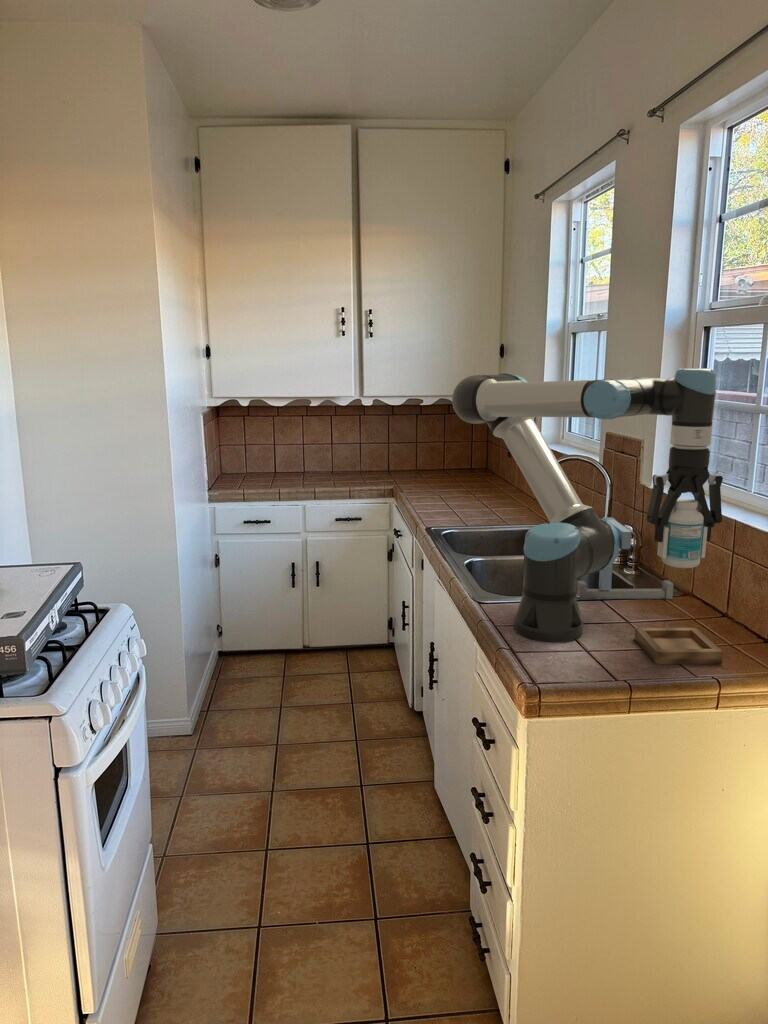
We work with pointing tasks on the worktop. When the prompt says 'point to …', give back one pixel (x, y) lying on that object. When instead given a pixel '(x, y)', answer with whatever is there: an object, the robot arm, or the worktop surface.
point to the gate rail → (625, 592)
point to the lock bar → (625, 543)
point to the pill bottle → (684, 534)
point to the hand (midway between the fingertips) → (680, 556)
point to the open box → (678, 646)
